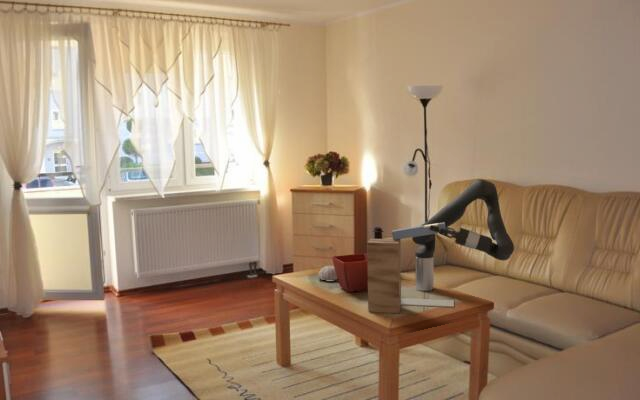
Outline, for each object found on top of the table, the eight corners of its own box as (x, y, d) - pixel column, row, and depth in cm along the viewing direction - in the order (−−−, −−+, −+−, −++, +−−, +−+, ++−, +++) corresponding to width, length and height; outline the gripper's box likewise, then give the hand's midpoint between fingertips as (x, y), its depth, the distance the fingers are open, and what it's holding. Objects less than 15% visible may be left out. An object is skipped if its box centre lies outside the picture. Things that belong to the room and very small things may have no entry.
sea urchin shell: (342, 282, 307) (342, 268, 306) (318, 283, 306) (318, 269, 306) (340, 276, 320) (339, 263, 320) (317, 277, 320) (316, 264, 319)
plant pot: (332, 286, 298) (331, 255, 296) (364, 283, 304) (364, 253, 302) (344, 295, 280) (344, 262, 278) (379, 291, 286) (378, 259, 284)
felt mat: (399, 299, 270) (399, 298, 270) (453, 301, 264) (453, 300, 264) (397, 304, 261) (397, 303, 261) (453, 307, 254) (453, 306, 254)
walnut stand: (371, 305, 261) (370, 238, 258) (401, 306, 258) (400, 239, 255) (368, 312, 250) (366, 242, 247) (398, 313, 247) (398, 243, 244)
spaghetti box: (394, 238, 256) (392, 230, 256) (446, 230, 250) (444, 222, 250) (393, 240, 252) (391, 231, 252) (445, 232, 246) (444, 223, 246)
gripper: (470, 228, 252) (433, 216, 256) (470, 233, 239) (432, 220, 242) (464, 243, 254) (428, 231, 257) (465, 249, 240) (426, 236, 244)
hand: (430, 226), depth 250 cm, fingers closed on spaghetti box, 4 cm apart
